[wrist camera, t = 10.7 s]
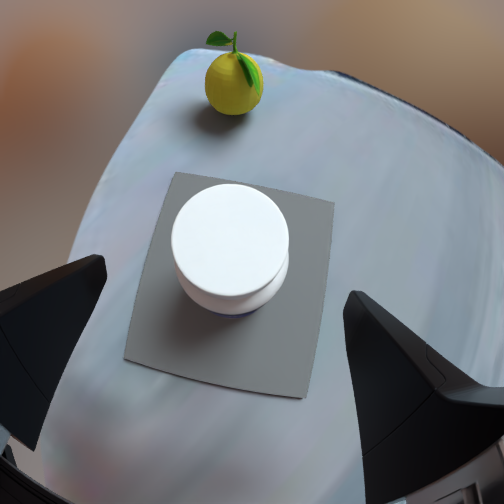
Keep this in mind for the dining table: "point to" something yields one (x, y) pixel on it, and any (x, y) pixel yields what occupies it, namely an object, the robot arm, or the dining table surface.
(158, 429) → the dining table surface
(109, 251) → the dining table surface
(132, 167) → the dining table surface
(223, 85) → the lemon
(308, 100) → the dining table surface
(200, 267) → the pill bottle
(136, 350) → the mat
